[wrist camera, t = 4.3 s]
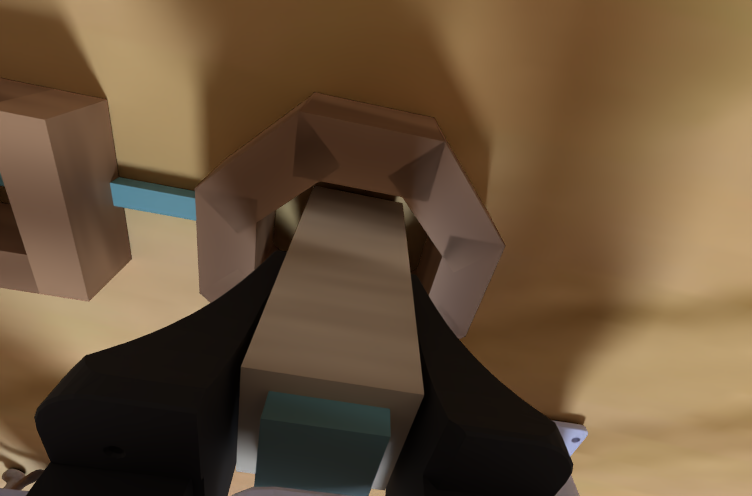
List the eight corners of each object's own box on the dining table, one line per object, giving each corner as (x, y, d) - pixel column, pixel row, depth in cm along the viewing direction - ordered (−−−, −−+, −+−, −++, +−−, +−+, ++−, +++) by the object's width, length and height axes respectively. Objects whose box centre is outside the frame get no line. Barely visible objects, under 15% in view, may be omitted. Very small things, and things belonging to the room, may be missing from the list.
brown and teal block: (383, 274, 17) (384, 517, 9) (303, 260, 17) (227, 499, 8) (402, 203, 15) (427, 422, 7) (314, 185, 15) (230, 393, 7)
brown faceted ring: (435, 337, 20) (443, 386, 17) (226, 303, 19) (202, 350, 16) (514, 134, 14) (543, 161, 12) (226, 72, 13) (189, 87, 11)
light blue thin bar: (208, 215, 16) (203, 221, 16) (-75, 164, 15) (-91, 169, 15) (208, 193, 16) (202, 199, 15) (-86, 139, 15) (-102, 143, 14)
